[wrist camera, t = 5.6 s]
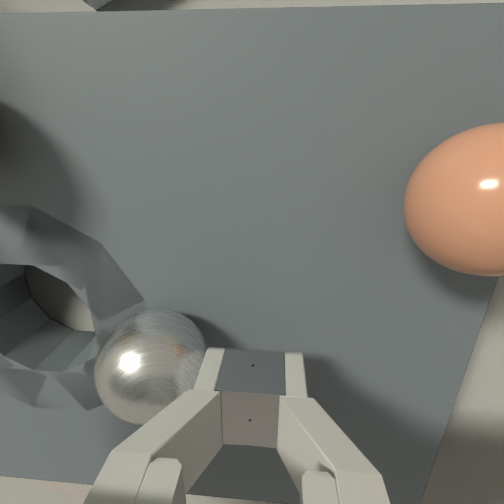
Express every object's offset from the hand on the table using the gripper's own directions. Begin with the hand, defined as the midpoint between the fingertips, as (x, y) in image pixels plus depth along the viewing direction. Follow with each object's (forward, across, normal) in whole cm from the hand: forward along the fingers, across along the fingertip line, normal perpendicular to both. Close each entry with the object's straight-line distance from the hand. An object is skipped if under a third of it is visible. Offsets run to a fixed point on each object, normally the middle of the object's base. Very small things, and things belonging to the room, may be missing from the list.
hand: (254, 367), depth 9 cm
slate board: (+4, +3, 0) cm, 5 cm away
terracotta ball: (0, -5, -5) cm, 7 cm away
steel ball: (0, +3, 0) cm, 3 cm away
